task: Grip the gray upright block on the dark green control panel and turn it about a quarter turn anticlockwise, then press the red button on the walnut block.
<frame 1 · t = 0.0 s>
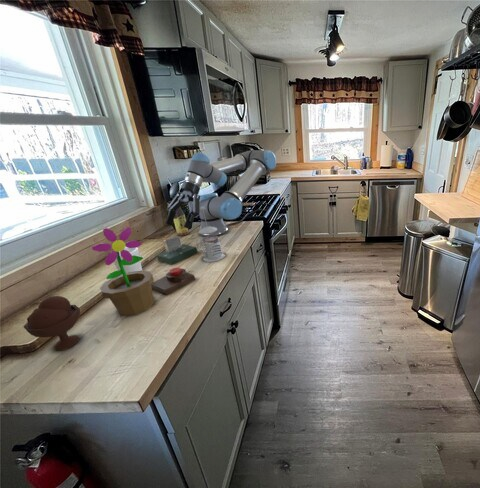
hand: (177, 226, 120), 15 cm above the counter, tool tilted 35°, fingers open, 13 cm apart
foam cup: (134, 279, 107), on the counter
french press: (212, 258, 123), on the counter
sauce bottle: (183, 234, 154), on the counter
gray upright block: (172, 244, 122), point 7 cm above the counter, hinge at 0.0°
flowerpot: (137, 306, 90), on the counter
control panel: (178, 256, 126), on the counter
ice cream bowl: (67, 343, 74), on the counter
button block: (173, 283, 103), on the counter
red button: (175, 271, 102), point 4 cm above the counter, slide at 0.1 cm
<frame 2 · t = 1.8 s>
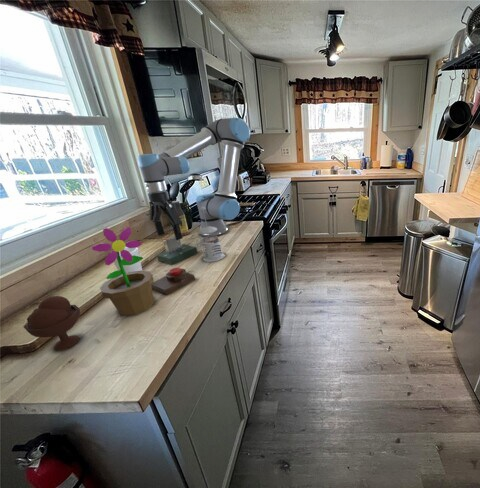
hand: (170, 236, 121), 11 cm above the counter, tool pointing down, fingers open, 13 cm apart
nothing on the counter moved.
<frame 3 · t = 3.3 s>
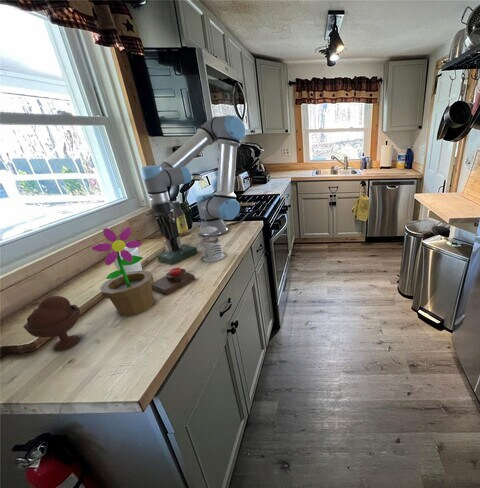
hand: (174, 250, 124), 4 cm above the counter, tool pointing down, fingers closed on gray upright block, 2 cm apart
gray upright block: (172, 244, 122), point 7 cm above the counter, hinge at 0.0°, touching gripper
everything else where it was.
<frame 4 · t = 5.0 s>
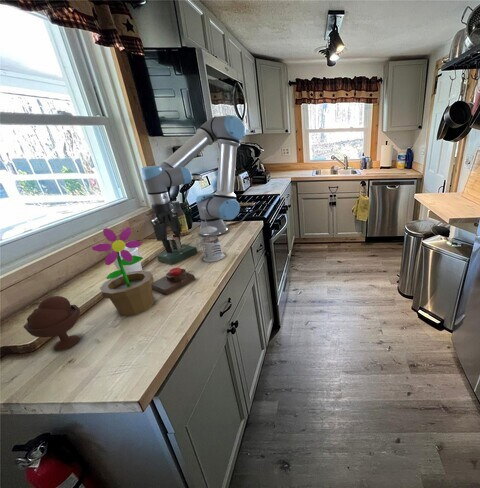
hand: (174, 249, 124), 4 cm above the counter, tool pointing down, fingers open, 5 cm apart
gray upright block: (172, 244, 122), point 7 cm above the counter, hinge at 105.0°
everything else where it was.
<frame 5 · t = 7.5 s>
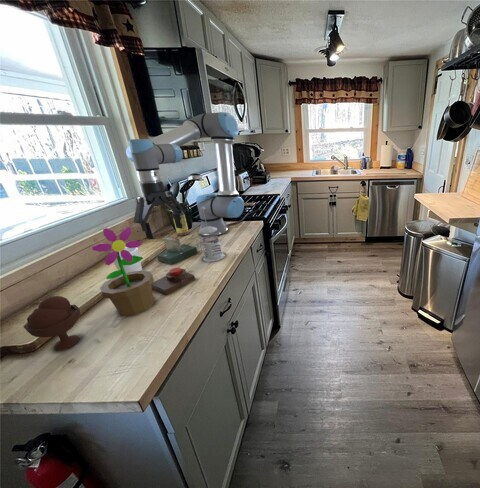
hand: (165, 233, 108), 17 cm above the counter, tool pointing down, fingers open, 13 cm apart
nothing on the counter moved.
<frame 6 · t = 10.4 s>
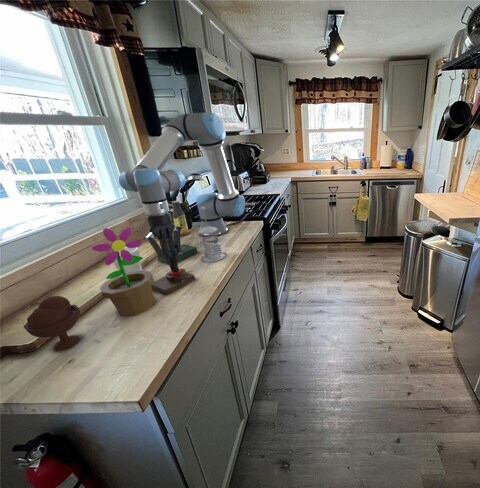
hand: (175, 270, 102), 5 cm above the counter, tool pointing down, fingers closed
red button: (176, 273, 103), point 4 cm above the counter, slide at -0.5 cm, touching gripper
everything else where it was.
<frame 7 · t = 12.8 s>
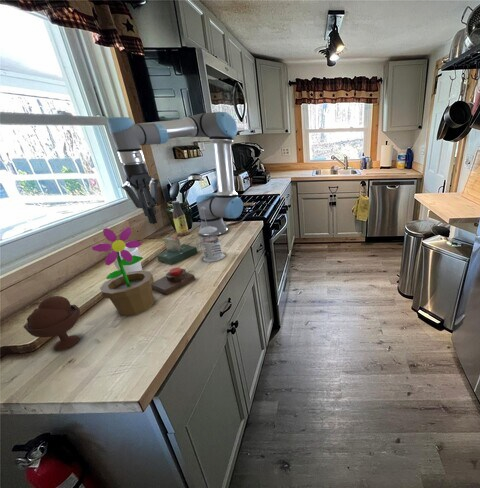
hand: (153, 222, 106), 21 cm above the counter, tool pointing down, fingers closed
red button: (175, 271, 102), point 4 cm above the counter, slide at 0.1 cm
everything else where it was.
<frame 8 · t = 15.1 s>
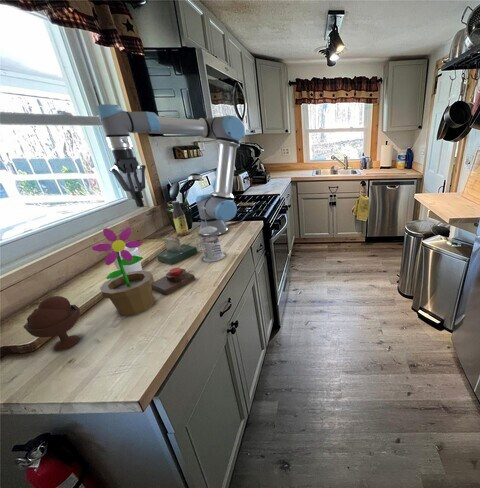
hand: (140, 206, 112), 26 cm above the counter, tool pointing down, fingers closed
nothing on the counter moved.
at the end: gray upright block at +105° (first picture: +0°); red button pushed in 1.0 cm at the most during the clip, back to where it started at the end; red button slide at 0.1 cm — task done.
